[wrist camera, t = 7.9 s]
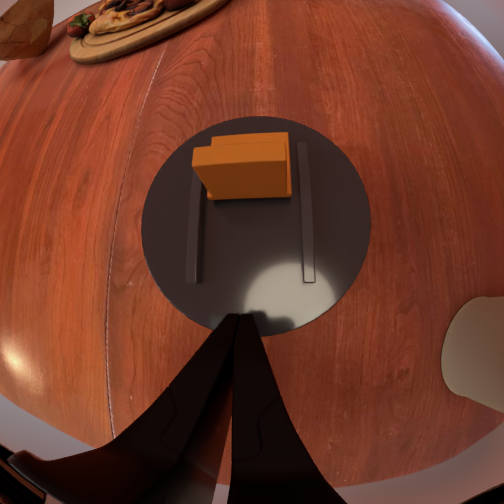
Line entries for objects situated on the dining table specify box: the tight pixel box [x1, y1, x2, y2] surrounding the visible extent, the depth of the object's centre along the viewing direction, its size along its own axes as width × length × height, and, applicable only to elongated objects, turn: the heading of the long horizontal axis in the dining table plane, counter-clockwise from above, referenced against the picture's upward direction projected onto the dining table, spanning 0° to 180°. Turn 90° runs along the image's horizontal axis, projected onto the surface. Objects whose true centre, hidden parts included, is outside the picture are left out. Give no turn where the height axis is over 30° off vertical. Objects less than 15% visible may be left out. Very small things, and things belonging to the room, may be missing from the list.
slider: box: [192, 132, 292, 200], centre depth 10 cm, size 3×4×3 cm
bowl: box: [0, 0, 54, 61], centre depth 27 cm, size 21×20×20 cm
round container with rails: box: [141, 116, 371, 337], centre depth 16 cm, size 11×11×9 cm
